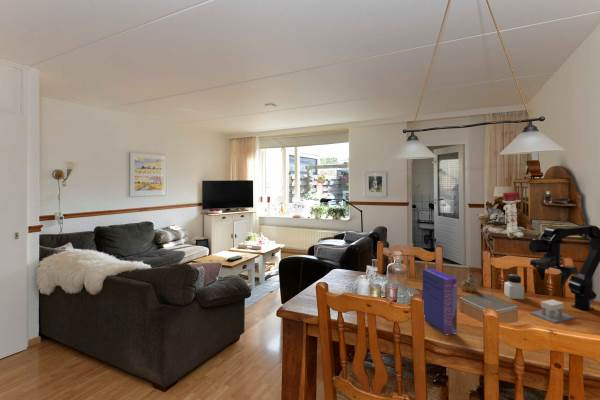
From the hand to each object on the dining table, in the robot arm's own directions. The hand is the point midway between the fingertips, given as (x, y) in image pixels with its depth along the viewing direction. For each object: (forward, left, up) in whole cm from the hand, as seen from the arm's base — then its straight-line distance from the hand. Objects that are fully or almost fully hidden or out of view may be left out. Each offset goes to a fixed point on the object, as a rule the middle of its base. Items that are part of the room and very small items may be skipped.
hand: (552, 283), depth 158 cm
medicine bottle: (+2, -18, -13) cm, 22 cm away
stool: (+9, +6, -12) cm, 16 cm away
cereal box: (+66, -5, -13) cm, 68 cm away
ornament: (+17, -34, -13) cm, 40 cm away
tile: (+9, +6, -13) cm, 17 cm away
